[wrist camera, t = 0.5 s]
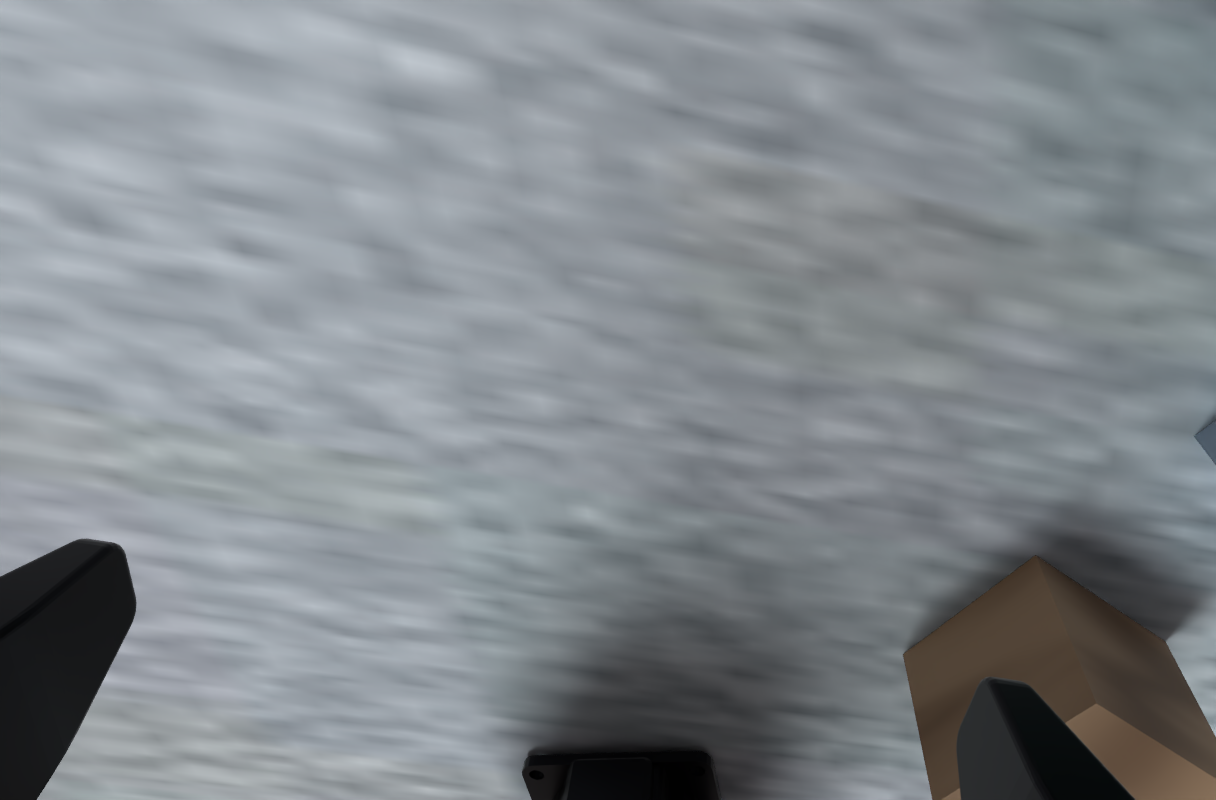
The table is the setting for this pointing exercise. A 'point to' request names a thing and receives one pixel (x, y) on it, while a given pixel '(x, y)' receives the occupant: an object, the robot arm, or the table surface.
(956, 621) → the walnut cube
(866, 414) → the table surface
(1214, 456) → the blue cube
